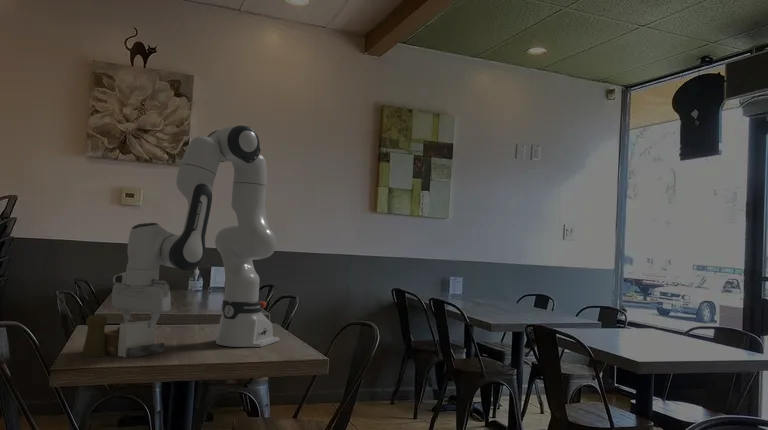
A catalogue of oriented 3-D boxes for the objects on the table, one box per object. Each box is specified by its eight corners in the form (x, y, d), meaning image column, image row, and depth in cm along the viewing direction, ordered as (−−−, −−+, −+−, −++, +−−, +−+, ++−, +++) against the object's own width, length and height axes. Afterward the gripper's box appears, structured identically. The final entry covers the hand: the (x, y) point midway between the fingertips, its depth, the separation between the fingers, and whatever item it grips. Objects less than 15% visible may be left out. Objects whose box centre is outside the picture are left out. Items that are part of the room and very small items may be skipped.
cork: (96, 357, 158) (99, 317, 158) (76, 355, 159) (80, 315, 159) (110, 353, 163) (113, 315, 164) (92, 351, 165) (95, 313, 165)
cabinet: (128, 345, 176) (130, 321, 177) (163, 351, 170) (165, 326, 171) (94, 351, 166) (96, 325, 166) (130, 358, 159) (132, 330, 160)
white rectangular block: (125, 357, 160) (127, 324, 161) (115, 355, 162) (117, 323, 163) (153, 352, 169) (155, 321, 170) (143, 350, 171) (146, 320, 171)
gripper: (177, 280, 165) (174, 328, 164) (126, 275, 174) (124, 321, 173) (160, 281, 159) (157, 331, 159) (109, 276, 168) (106, 324, 168)
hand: (139, 326), depth 166 cm, fingers open, 8 cm apart
